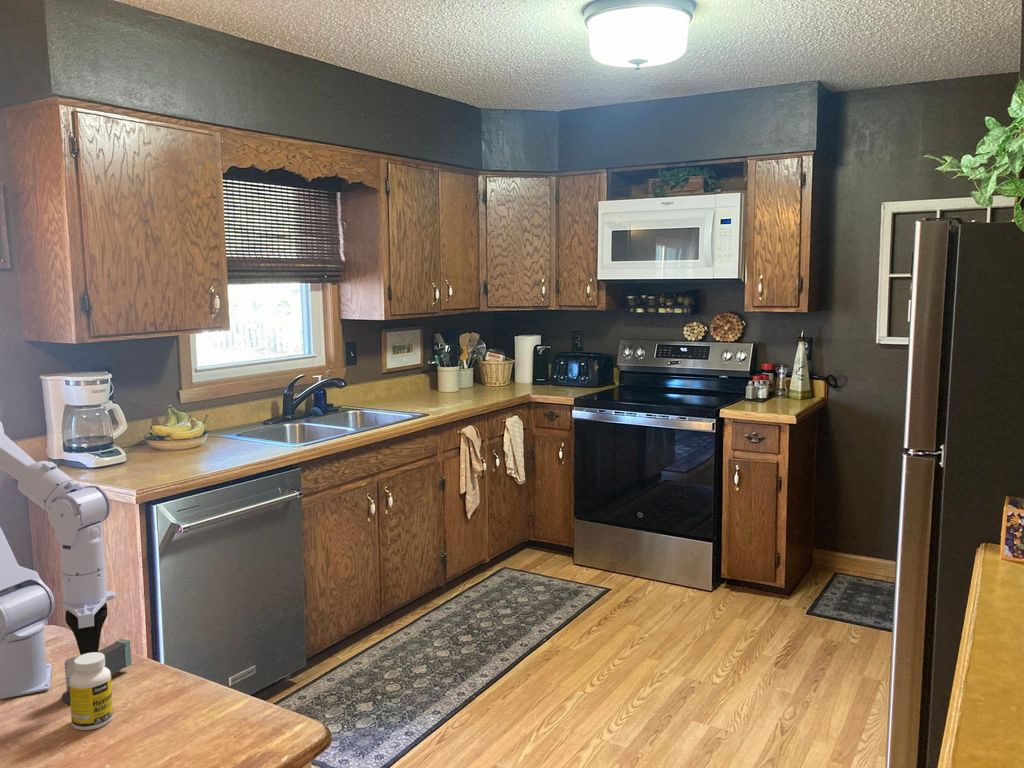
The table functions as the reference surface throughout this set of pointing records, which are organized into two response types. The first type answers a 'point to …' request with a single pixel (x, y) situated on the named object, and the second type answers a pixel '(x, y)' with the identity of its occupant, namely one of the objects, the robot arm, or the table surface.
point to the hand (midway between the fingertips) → (89, 655)
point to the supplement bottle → (90, 692)
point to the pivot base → (66, 698)
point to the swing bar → (106, 659)
